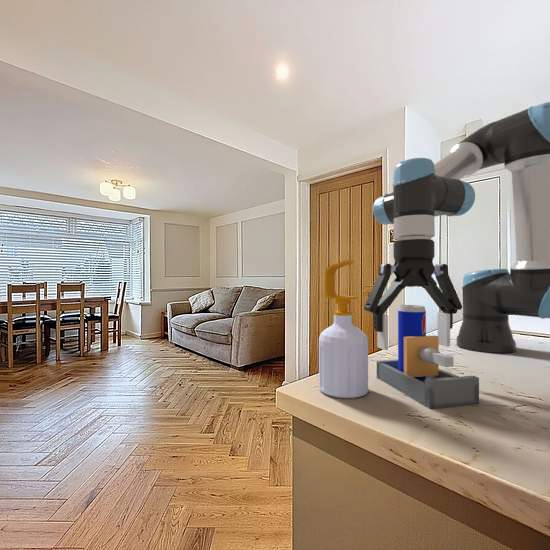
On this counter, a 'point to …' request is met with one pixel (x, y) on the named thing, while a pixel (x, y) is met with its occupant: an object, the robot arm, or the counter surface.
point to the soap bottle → (342, 348)
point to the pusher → (424, 356)
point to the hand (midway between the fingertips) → (413, 347)
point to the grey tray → (431, 386)
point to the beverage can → (410, 329)
